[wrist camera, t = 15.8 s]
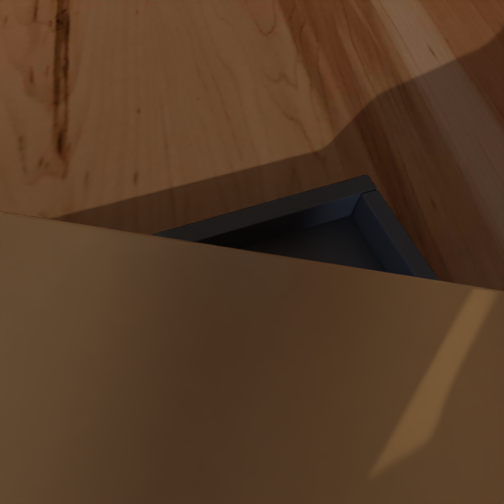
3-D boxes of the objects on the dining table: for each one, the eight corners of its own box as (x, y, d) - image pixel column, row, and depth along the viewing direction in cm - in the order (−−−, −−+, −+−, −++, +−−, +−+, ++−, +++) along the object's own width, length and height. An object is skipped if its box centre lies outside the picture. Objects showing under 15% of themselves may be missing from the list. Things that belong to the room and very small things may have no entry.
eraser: (-57, 578, 12) (-574, 636, 4) (21, 371, 15) (-179, 150, 7) (361, 632, 13) (698, 787, 4) (360, 420, 16) (560, 269, 7)
